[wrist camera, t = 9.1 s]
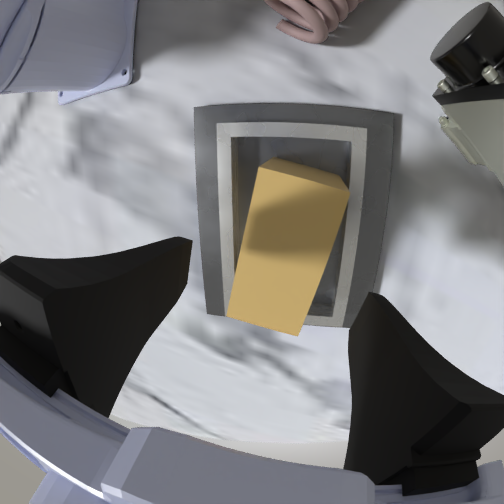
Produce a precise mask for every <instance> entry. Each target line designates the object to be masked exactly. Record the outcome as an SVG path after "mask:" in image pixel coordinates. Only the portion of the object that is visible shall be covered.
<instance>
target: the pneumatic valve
mask: <svg viewBox="0 0 504 504" xmlns="http://www.w3.org/2000/svg"><path fill="white" fill-rule="evenodd" d="M430 60H431V62H432V63H433V64H434V65H435V66H436V67H437V68H438V69H440V70H441V71H442V72H443V74H444V75H445V76H446V78H445V79H442V80H441V81H440V82H439V83H438V85H437V87H438V89H437V90H436V91H435V93H434V94H433V95H432V96H433V97H434V98H435V99H436V100H437V102H438V103H439V104H440V105H441V107H442V110H443V111H444V113H445V114H446V115H447V116H448V117H449V118H448V119H447V118H446V117H445V116H444V117H442V116H441V117H440V118H439V123H440V124H441V129H442V130H443V132H444V133H445V134H446V135H447V136H448V137H449V138H450V140H451V141H452V142H453V143H454V144H455V146H456V147H457V148H458V149H459V150H460V152H461V153H462V154H463V155H464V157H465V158H466V159H467V161H468V162H469V163H470V164H474V165H477V164H480V165H484V166H487V168H488V169H489V170H490V171H491V172H494V173H495V175H496V176H497V178H498V179H499V181H500V183H501V184H502V186H503V187H504V17H503V16H502V15H501V13H500V12H499V11H498V10H497V9H496V8H495V7H494V6H493V5H492V4H491V3H489V2H485V3H482V4H480V5H478V6H477V7H475V8H474V9H472V10H471V11H470V12H468V13H467V14H466V15H465V16H463V17H462V18H461V19H460V20H459V21H458V22H457V23H456V24H455V25H454V26H453V27H452V28H451V29H450V30H449V31H448V32H447V33H446V34H445V36H444V37H443V38H442V39H441V40H440V42H439V43H438V44H437V46H436V47H435V49H434V50H433V52H432V54H431V57H430Z"/></svg>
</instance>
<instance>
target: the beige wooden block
mask: <svg viewBox="0 0 504 504" xmlns="http://www.w3.org/2000/svg"><path fill="white" fill-rule="evenodd" d="M349 196H350V191H349V190H348V188H347V187H346V185H345V184H344V182H343V180H342V179H341V177H340V176H339V175H336V174H333V173H330V172H327V171H323V170H320V169H316V168H313V167H309V166H306V165H302V164H298V163H295V162H291V161H287V160H283V159H279V158H275V157H273V158H271V159H270V160H268V161H267V162H265V163H264V164H262V165H261V166H259V168H258V172H257V177H256V181H255V186H254V190H253V195H252V199H251V204H250V208H249V213H248V217H247V222H246V226H245V231H244V235H243V240H242V245H241V249H240V254H239V258H238V263H237V268H236V272H235V277H234V282H233V287H232V291H231V296H230V301H229V305H228V310H227V315H226V316H228V317H231V318H234V319H237V320H241V321H244V322H247V323H251V324H254V325H258V326H261V327H265V328H268V329H272V330H276V331H279V332H283V333H287V334H290V335H294V336H298V335H299V332H300V330H301V328H302V325H303V323H304V320H305V318H306V315H307V313H308V310H309V308H310V306H311V303H312V300H313V298H314V295H315V293H316V290H317V288H318V285H319V282H320V280H321V277H322V275H323V272H324V269H325V266H326V264H327V261H328V258H329V255H330V253H331V250H332V247H333V244H334V241H335V238H336V236H337V233H338V230H339V227H340V224H341V221H342V218H343V215H344V212H345V209H346V205H347V202H348V199H349Z"/></svg>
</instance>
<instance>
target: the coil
mask: <svg viewBox="0 0 504 504" xmlns="http://www.w3.org/2000/svg"><path fill="white" fill-rule="evenodd" d="M264 1H265V2H266V3H267V4H268V5H269V6H270V7H271V8H273V9H274V10H275V11H277V12H278V13H280V14H281V15H283V16H284V17H286V18H287V19H289V20H291V21H293V22H295V23H297V24H298V25H301V26H303V27H305V28H307V29H310V30H313V31H314V32H310V31H306V30H303V29H301V28H298V27H296V26H294V25H292V24H290V23H289V22H287V21H285V20H283V19H282V20H281V21H280V22H279V24H278V25H277V26H276V28H277V29H279V30H281V31H282V32H284V33H286V34H288V35H290V36H292V37H294V38H297V39H299V40H302V41H305V42H308V43H313V44H318V43H322V42H324V41H325V40H326V39H327V37H328V33H329V32H333V31H334V30H335V29H336V28H337V27H338V23H339V22H342V21H343V20H345V19H346V18H347V16H348V13H349V12H352V11H353V10H354V9H356V7H357V6H358V4H359V3H361V2H362V1H364V0H308V1H309V2H311V3H313V4H314V5H315V6H316V7H314V6H312V5H310V4H308V3H307V2H306V1H305V0H264ZM284 3H285V4H284ZM286 4H287V5H288V6H290V7H291V8H293V9H294V10H293V9H291V8H290V7H288V6H287V5H286ZM296 11H297V12H296Z"/></svg>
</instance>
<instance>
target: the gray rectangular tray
mask: <svg viewBox="0 0 504 504" xmlns="http://www.w3.org/2000/svg"><path fill="white" fill-rule="evenodd" d="M393 131H394V114H393V113H387V112H381V111H374V110H366V109H358V108H349V107H338V106H326V105H310V104H231V105H215V106H202V107H194V136H195V164H196V185H197V203H198V219H199V233H200V245H201V257H202V269H203V279H204V290H205V299H206V309H207V314H211V315H219V316H226V315H227V310H228V305H229V301H230V296H231V291H232V287H233V282H234V277H235V272H236V268H237V263H238V258H239V254H240V249H241V245H242V240H243V235H244V231H245V226H246V222H247V217H248V213H249V208H250V204H251V199H252V195H253V190H254V186H255V181H256V177H257V172H258V168H259V166H261V165H262V164H264V163H265V162H267V161H268V160H270V159H271V158H273V157H275V158H279V159H283V160H287V161H291V162H295V163H298V164H302V165H306V166H309V167H313V168H316V169H320V170H323V171H327V172H330V173H333V174H336V175H339V176H340V177H341V179H342V180H343V182H344V184H345V185H346V187H347V188H348V190H349V191H350V196H349V199H348V202H347V205H346V209H345V212H344V215H343V218H342V221H341V224H340V227H339V230H338V233H337V236H336V238H335V241H334V244H333V247H332V250H331V253H330V255H329V258H328V261H327V264H326V266H325V269H324V272H323V275H322V277H321V280H320V282H319V285H318V288H317V290H316V293H315V295H314V298H313V300H312V303H311V306H310V308H309V310H308V313H307V315H306V318H305V320H304V323H303V325H313V326H327V327H343V328H351V326H352V324H353V322H354V320H355V318H356V317H357V315H358V313H359V311H360V309H361V307H362V305H363V303H364V301H365V299H366V297H367V295H368V292H372V291H373V287H374V282H375V277H376V272H377V267H378V262H379V257H380V251H381V246H382V240H383V234H384V227H385V220H386V213H387V205H388V197H389V188H390V178H391V166H392V152H393ZM226 317H228V316H226Z"/></svg>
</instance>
